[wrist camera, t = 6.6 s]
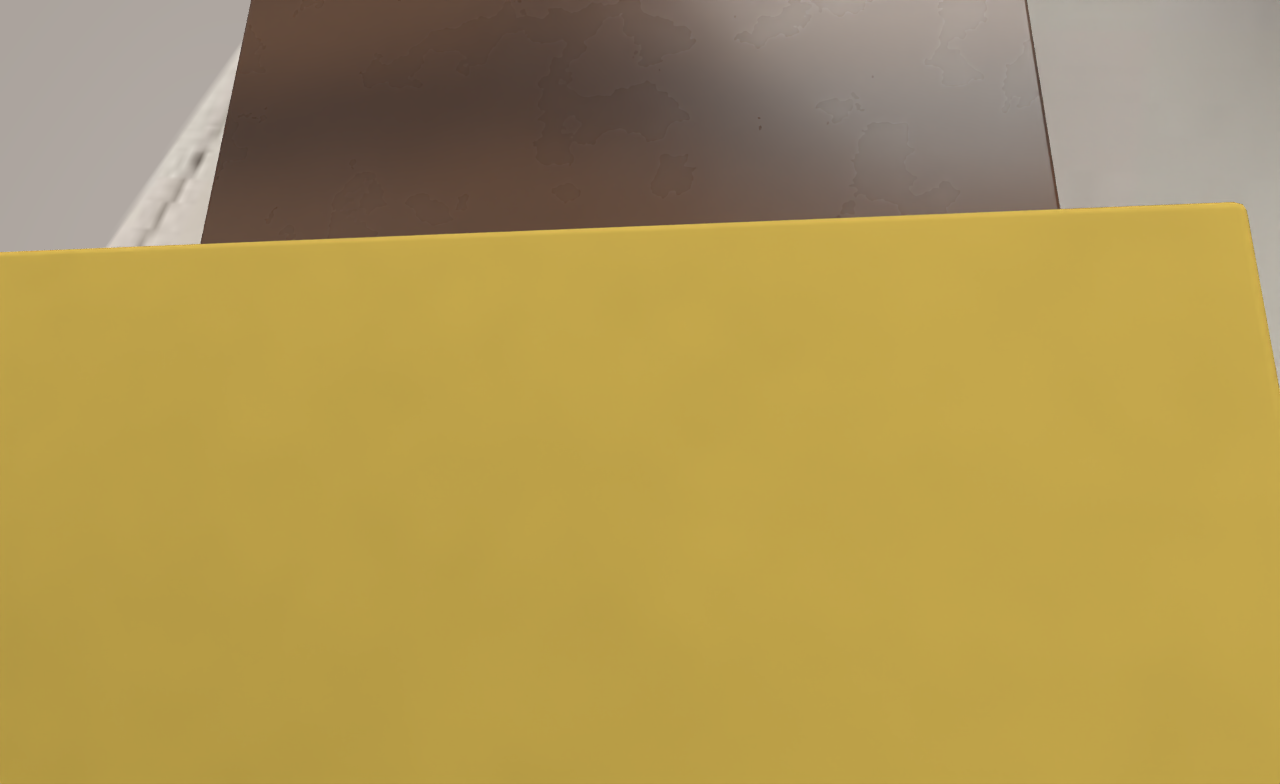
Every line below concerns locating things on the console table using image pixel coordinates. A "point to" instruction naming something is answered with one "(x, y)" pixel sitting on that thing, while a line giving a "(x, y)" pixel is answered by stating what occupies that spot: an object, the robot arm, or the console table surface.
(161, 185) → the console table surface
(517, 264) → the sponge
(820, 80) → the cabinet
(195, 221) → the console table surface
